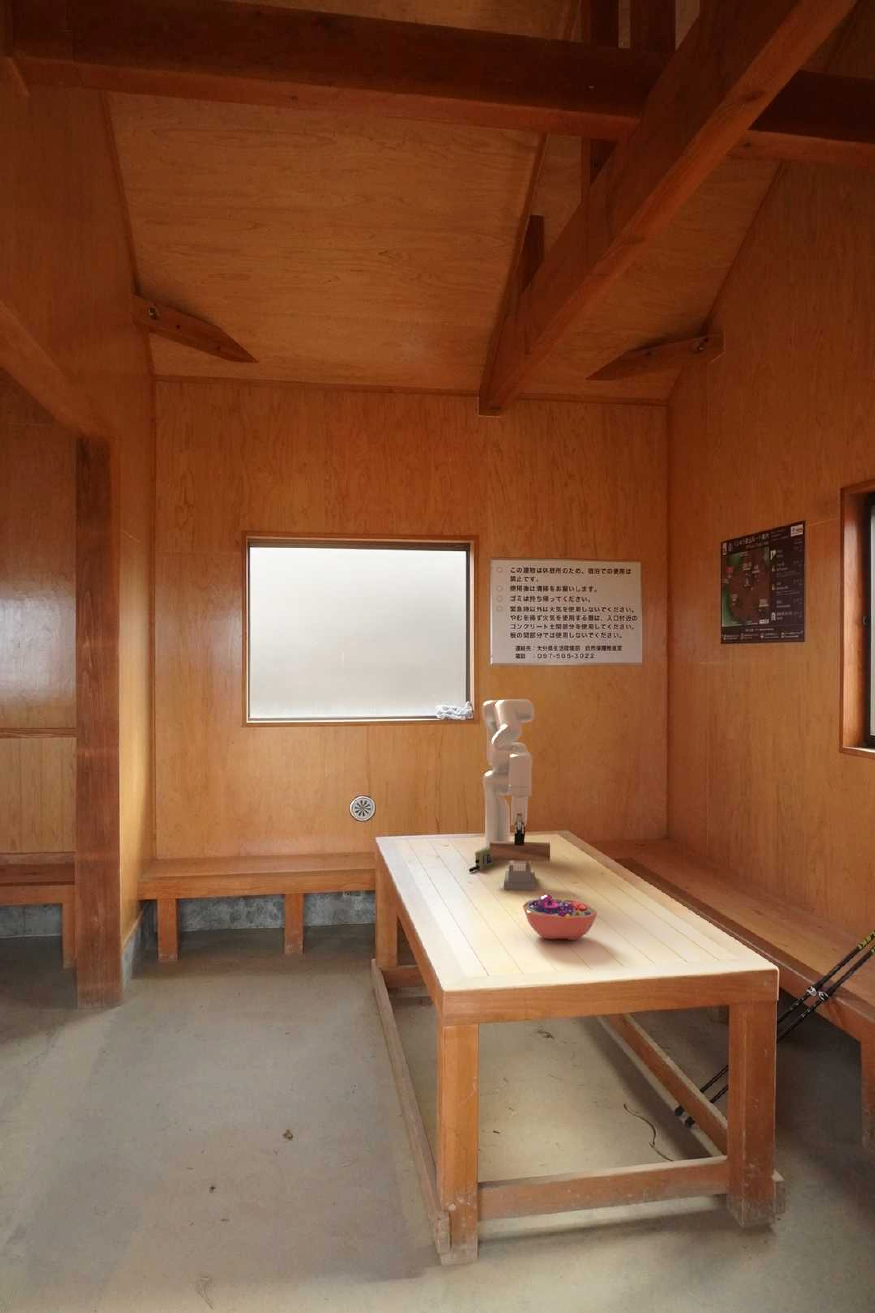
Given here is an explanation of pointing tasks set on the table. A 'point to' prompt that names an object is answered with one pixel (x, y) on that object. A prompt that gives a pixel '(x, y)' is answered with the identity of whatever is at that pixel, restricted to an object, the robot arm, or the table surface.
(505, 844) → the walnut bar
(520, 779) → the robot arm
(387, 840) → the table surface
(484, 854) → the handheld radio
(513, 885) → the ridge stand
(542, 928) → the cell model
